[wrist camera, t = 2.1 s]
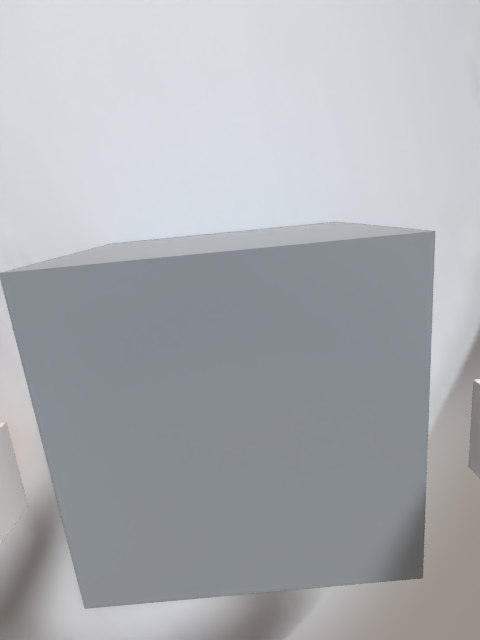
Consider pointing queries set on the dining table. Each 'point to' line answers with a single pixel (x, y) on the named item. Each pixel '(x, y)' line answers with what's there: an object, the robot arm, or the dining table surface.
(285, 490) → the grey matte cube
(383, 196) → the dining table surface
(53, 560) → the dining table surface
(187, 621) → the dining table surface
